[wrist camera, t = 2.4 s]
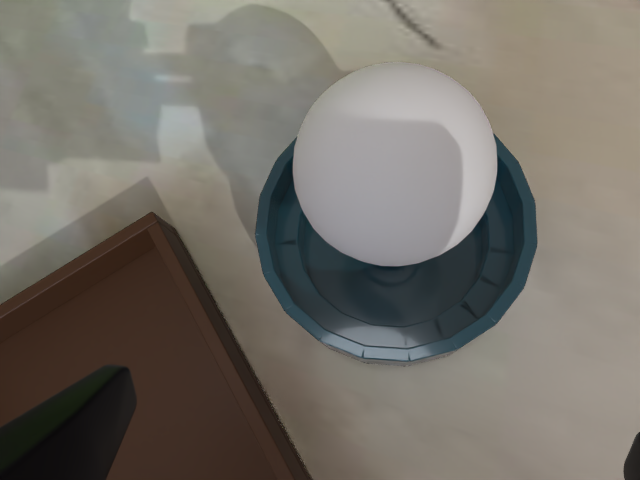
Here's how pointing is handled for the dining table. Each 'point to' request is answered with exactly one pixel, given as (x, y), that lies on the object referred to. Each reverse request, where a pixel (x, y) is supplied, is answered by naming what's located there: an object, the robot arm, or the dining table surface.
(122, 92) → the dining table surface
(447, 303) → the bowl
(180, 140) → the dining table surface
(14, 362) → the tray
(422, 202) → the lightbulb
